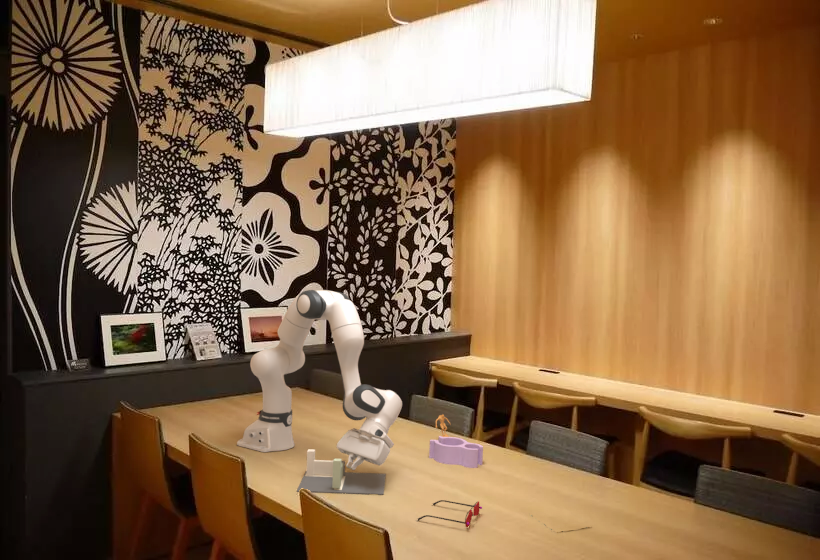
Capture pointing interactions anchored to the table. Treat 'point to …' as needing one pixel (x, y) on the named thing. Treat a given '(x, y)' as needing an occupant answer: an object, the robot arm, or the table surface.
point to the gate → (338, 472)
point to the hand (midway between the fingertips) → (349, 468)
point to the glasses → (469, 517)
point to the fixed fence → (318, 465)
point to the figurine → (442, 424)
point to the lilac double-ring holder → (456, 452)
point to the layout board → (345, 483)
